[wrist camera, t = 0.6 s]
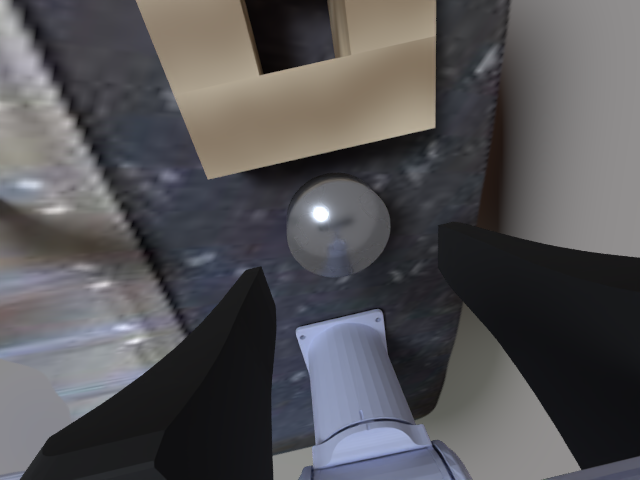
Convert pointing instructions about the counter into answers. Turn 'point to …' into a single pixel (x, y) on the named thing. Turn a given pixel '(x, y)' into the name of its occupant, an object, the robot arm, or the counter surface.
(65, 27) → the counter surface
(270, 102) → the block
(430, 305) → the counter surface
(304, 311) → the counter surface
